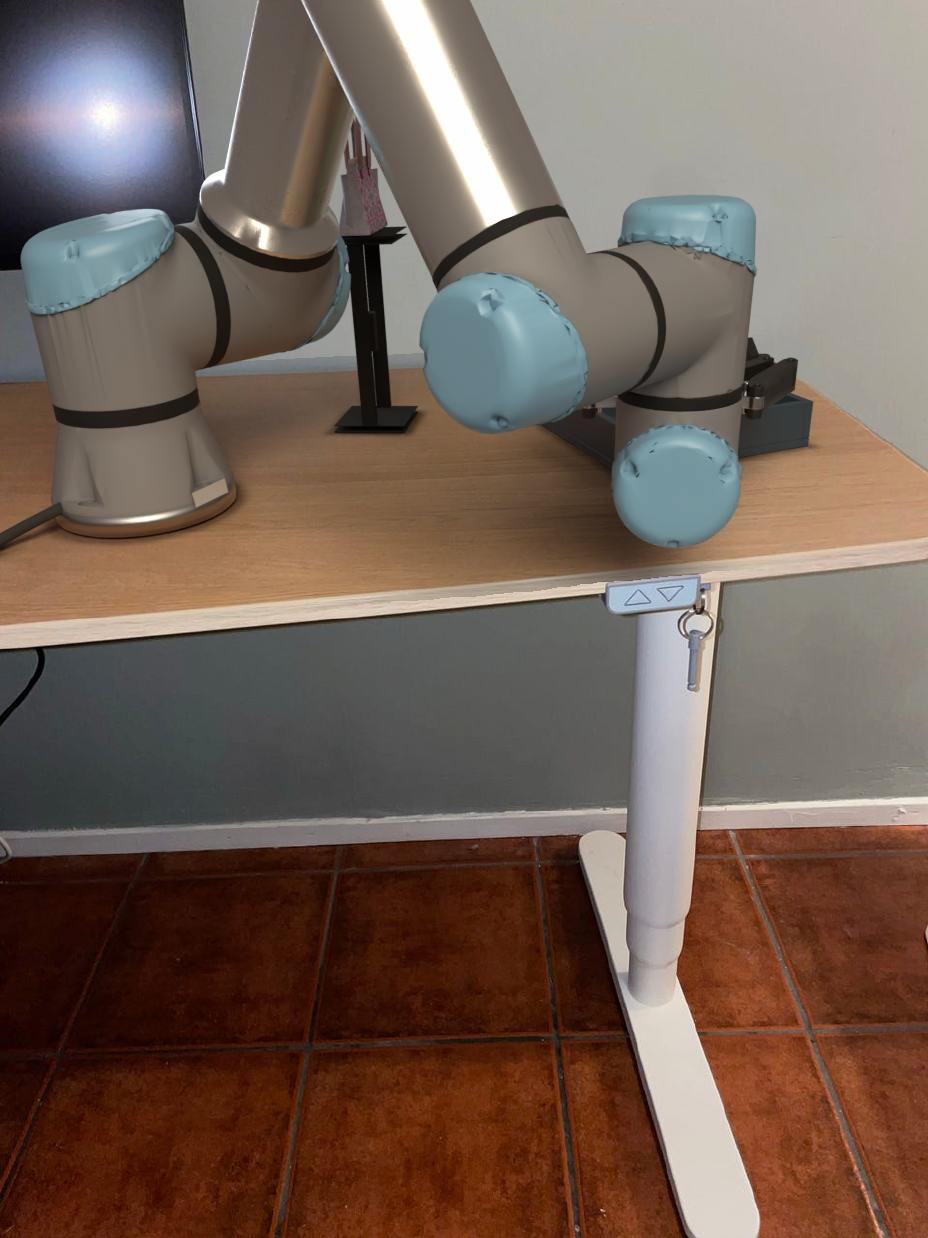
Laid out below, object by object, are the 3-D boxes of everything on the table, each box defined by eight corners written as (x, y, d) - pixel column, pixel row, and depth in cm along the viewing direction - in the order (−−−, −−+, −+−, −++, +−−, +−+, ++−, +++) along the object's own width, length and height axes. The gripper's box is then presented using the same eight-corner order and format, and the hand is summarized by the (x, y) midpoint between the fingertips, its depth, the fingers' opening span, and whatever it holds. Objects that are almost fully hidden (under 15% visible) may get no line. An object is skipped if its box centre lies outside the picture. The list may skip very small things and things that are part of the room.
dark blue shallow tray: (623, 477, 89) (625, 430, 87) (534, 420, 105) (534, 379, 103) (808, 445, 94) (813, 401, 92) (696, 396, 111) (699, 357, 109)
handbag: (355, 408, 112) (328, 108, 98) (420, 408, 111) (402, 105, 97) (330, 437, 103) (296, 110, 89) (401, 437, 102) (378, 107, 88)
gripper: (500, 468, 75) (530, 393, 94) (848, 475, 71) (808, 395, 89) (497, 368, 72) (529, 310, 90) (863, 369, 67) (818, 308, 86)
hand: (668, 352), depth 90 cm, fingers open, 13 cm apart
